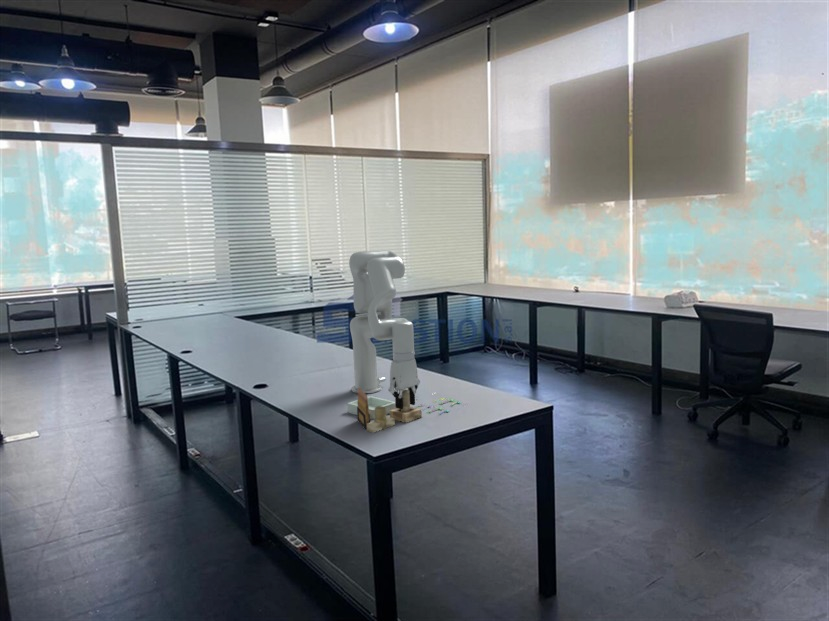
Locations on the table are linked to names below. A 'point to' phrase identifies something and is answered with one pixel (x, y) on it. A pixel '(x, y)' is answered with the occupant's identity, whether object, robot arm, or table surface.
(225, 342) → the table surface
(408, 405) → the dowel
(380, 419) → the bench dog
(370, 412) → the tray
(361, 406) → the ammunition clip
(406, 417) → the square wooden box
